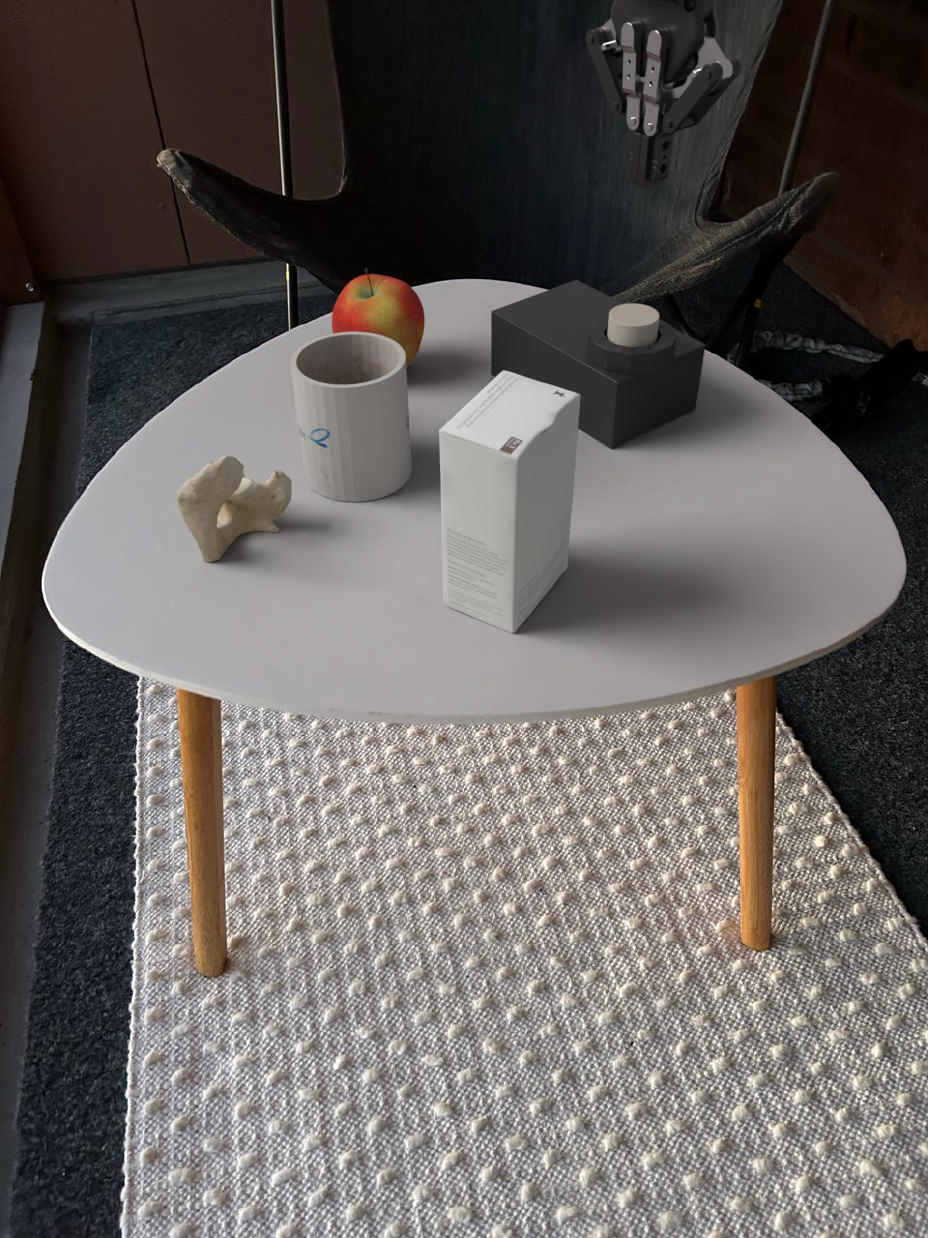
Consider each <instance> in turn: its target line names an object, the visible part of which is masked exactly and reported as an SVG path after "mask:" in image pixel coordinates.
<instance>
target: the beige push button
mask: <svg viewBox="0 0 928 1238" xmlns="http://www.w3.org/2000/svg"><path fill="white" fill-rule="evenodd" d="M659 320H660V313H659V311H658V310H657V309H655V308H654V307H651V306H650V305H647V304H643V303H623V304H622V305H618V306H616V307H614V308H612V309H611V310H610V312H609V320H608V333H607V338H608V340H609V341H611V342H613V343H615V344H617V345H622V346H628V347H642V346H649V345H651V344H653V343H655V342H656V341H657V334H658V325H659Z"/></svg>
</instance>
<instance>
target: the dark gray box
mask: <svg viewBox="0 0 928 1238" xmlns="http://www.w3.org/2000/svg"><path fill="white" fill-rule="evenodd" d="M622 304H624V303H623V302H621V301H620V300H617V299H615V298H613V297H612V296H609V295H607V294H605V293H603V292H601V291H599V290H598V289H596V288H594V287H592V286H590V285H587V284H585V283H584V282H582V281H580V280H577V279H575V280H573V281H570V282H569V281H568V282H567V283H563V284H561V285H558V286H556V287H553V288H550V289H547V290H545V291H542V292H540V293H537V294H534V295H531V296H529V297H525V298H523V299H520V300H519V301H514V302H512V303H509V304H507V305H504V306H501V307H499V308H496V309H492V310H491V312H490V313H491V314H490V316H491V319H490V320H491V321H490V324H491V325H490V326H491V327H490V333H491V334H490V339H491V342H490V345H491V346H490V374H491V375H492V376H494V378H495V377H496V376H497V375H498V374H500V373H501V372H502V371H508V372H512V373H516V374H518V375H521V376H524V377H527V378H530V379H533V380H536V381H539V382H543V383H546V384H550V385H553V386H556V387H559V388H562V389H566V390H569V391H572V392H575V393H578V394H580V409H579V422H578V430H580V431H581V432H583V433H585V434H587V435H588V436H589V437H591V438H593V439H594V440H597V441H598V442H599V443H601V444H603V445H604V446H606V447H607V448H609V449H611V450H613V449H615V448H617V447H620V446H621V445H623V444H626V443H628V442H631V441H632V440H634V439H636V438H639V437H640V436H642V435H645V434H647V433H649V432H651V431H653V430H655V429H657V428H659V427H661V426H664V425H666V424H668V423H671V422H672V421H674V420H676V419H678V418H681V417H683V416H685V415H687V414H689V413H692V412H694V411H696V410H697V406H698V405H697V403H698V398H699V390H700V385H701V376H702V371H703V364H704V356H705V349H706V344H704V343H703V342H701V341H699V340H697V339H695V338H693V337H691V336H689V335H687V334H685V333H683V332H681V331H679V330H677V329H675V328H673V326H672V325H671V324H669V323H667V322H665V321H663V320H661V319H659V325H658V334H657V341H656V342H655V343H653V344H651V345H649V346H642V347H628V346H622V345H617V344H615V343H613V342H611V341H609V340H608V338H607V333H608V320H609V312H610V310H611V309H612V308H614V307H616V306H618V305H622Z"/></svg>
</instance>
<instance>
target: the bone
mask: <svg viewBox="0 0 928 1238" xmlns="http://www.w3.org/2000/svg"><path fill="white" fill-rule="evenodd" d="M244 468H245V466H244V464H242V462H240V461H239V460H238V458H237V457H235V456H232V455H228V454H226V455H224V456H221V457H220V458H217V460H216V461H210V462H209V463H208V464H206V465H205V466H203V467H202V469H201V470H200V471H199V472H197V473H195V474H194V475H193V476H191V477H189V478H187V480H186V481H185V483H184V484H183V485H182V486H181V487H180V488H179V489H178V490H177V492H176V494H175V495H176V500H177V504H178V505H177V506H178V510H179V512H180V515H181V517H182V520H183V522H184V524H185V525H186V527H187V528H188V530H189V531H190V533H191V535H192V536H193V538H194V540H195V541H196V543H197V546H198V548H199V550H200V552H201V556H202V559H203V561H204V562H206V563H213V562H216V561H219V560H221V558H222V556H223V555H224V553H225V552H226V551H227V549H229V547H230V546H231V545H232V544H233V543H234V541H235V540H236V538H238V537H239V536H241V535H243V534H246V533H251V532H267V533H268V532H269V533H278V532H280V531H281V529H280V528H278V526H277V525H275V520H276V519H279V518H281V517H282V516H283V515H284V514H285V511H286V509H287V508H288V507H289V505H290V504H291V503H290V502H291V501H292V494H293V493H292V491H293V489H292V483H293V482H292V479H291V478H290V477H289V476H287V474H285V473H284V472H283V471H282V470H279V471H278V470H274V471H273V473H272V474H271V476H270V477H269V478H268V479H266V481H264V482H262V483H261V482H260V483H259V482H256V481H255V480H253V479H252V478H249V477H245V472H244ZM218 524H219V525H218Z"/></svg>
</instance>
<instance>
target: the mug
mask: <svg viewBox="0 0 928 1238" xmlns="http://www.w3.org/2000/svg"><path fill="white" fill-rule="evenodd" d="M289 361H290V372H291V373H290V374H291V379H292V389H293V396H294V403H295V410H296V417H297V425H298V433H299V440H300V448H301V455H302V461H303V462H302V463H303V471H304V477H305V481H306V483H307V486H309V487H310V489H311V490H312V491H313V492H315V493H317V494H318V495H320V496H322V497H325V498H327V499H330V500H333V501H338V502H339V501H340V502H345V503H346V502H347V503H360V502H369V501H374V500H378V499H381V498H384V497H388V496H390V495H392V494H393V493H396V492H397V491H399V490H400V489H402V488H403V487H404V486H405V485H406V484H407V483H408V481H409V479H410V477H411V475H412V471H413V464H412V450H411V449H412V447H411V428H410V410H409V391H408V390H409V389H408V376H407V375H408V372H407V368H406V356H405V351H404V350H403V348H402V347H401V346H400V345H399V344H398V343H397V342H395V341H394V340H392V339H390V338H387V337H385V336H382V335H378V334H374V333H367V332H340V333H334V334H333V333H329V334H325V335H321V336H318V337H315V338H313V339H310V340H309V341H306V342H305V343H303V344H301V345H300V346H299V347H298V348H296V349H295V350H294V352H293V353H292V355H291V357H290V360H289Z"/></svg>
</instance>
